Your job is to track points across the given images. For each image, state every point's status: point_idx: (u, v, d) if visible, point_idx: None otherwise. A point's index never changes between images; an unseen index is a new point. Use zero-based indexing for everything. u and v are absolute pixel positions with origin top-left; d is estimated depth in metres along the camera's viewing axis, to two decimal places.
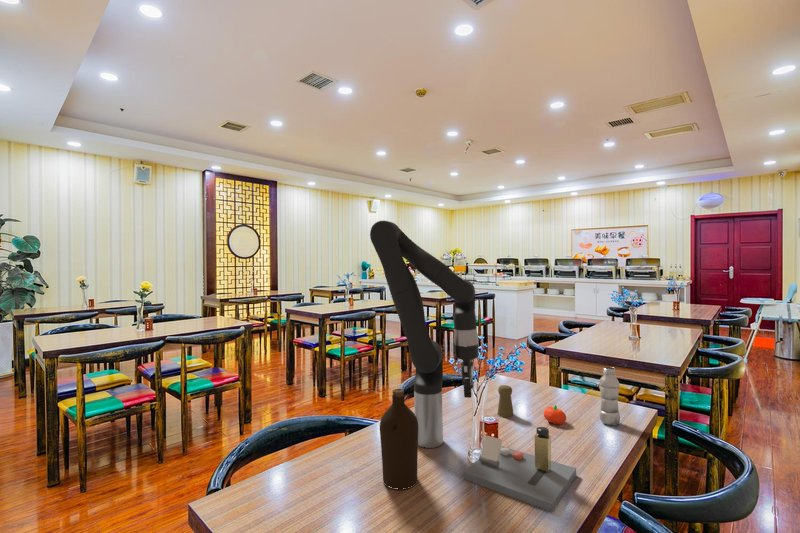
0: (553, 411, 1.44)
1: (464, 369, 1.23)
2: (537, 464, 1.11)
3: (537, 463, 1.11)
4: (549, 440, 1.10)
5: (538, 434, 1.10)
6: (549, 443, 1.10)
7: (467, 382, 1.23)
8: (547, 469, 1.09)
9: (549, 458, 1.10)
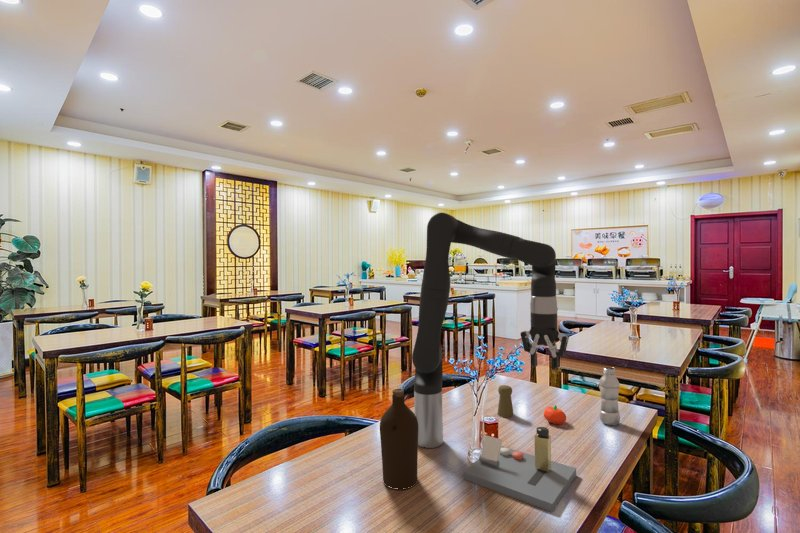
0: (553, 411, 1.44)
1: (566, 340, 1.15)
2: (537, 464, 1.11)
3: (537, 463, 1.11)
4: (549, 440, 1.10)
5: (538, 434, 1.10)
6: (549, 443, 1.10)
7: (563, 352, 1.17)
8: (547, 469, 1.09)
9: (549, 458, 1.10)
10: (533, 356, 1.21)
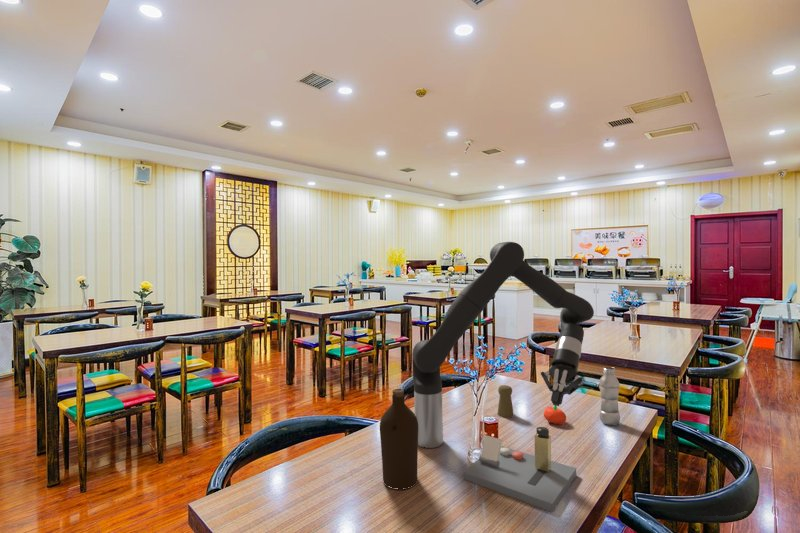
0: (553, 411, 1.44)
1: (581, 382, 1.19)
2: (537, 464, 1.11)
3: (537, 463, 1.11)
4: (549, 440, 1.10)
5: (538, 434, 1.10)
6: (549, 443, 1.10)
7: (570, 391, 1.20)
8: (547, 469, 1.09)
9: (549, 458, 1.10)
10: (555, 392, 1.20)
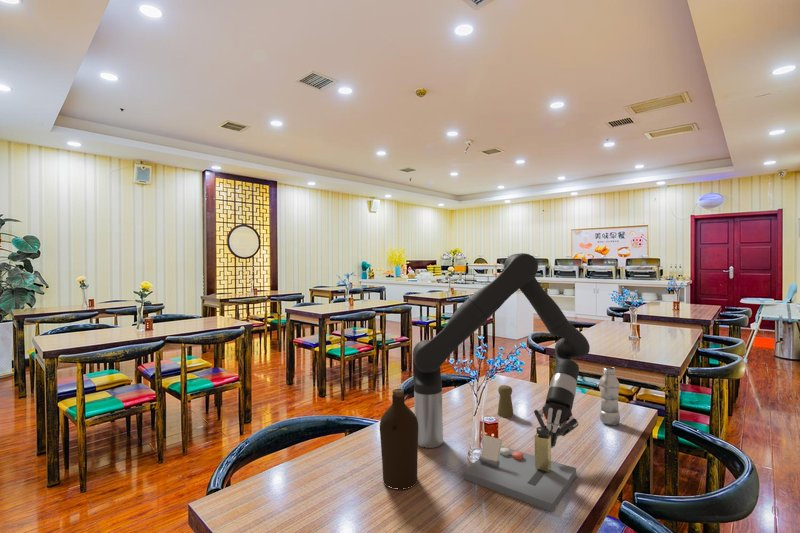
0: None
1: (575, 424, 1.15)
2: (537, 464, 1.11)
3: (537, 463, 1.11)
4: (549, 440, 1.10)
5: (538, 434, 1.10)
6: (549, 443, 1.10)
7: (564, 432, 1.16)
8: (547, 469, 1.09)
9: (549, 458, 1.10)
10: (549, 433, 1.16)
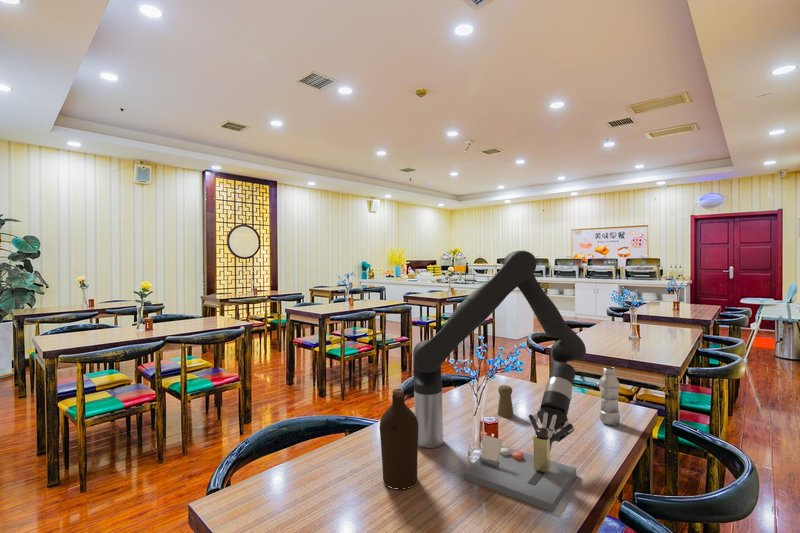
0: None
1: (570, 429, 1.12)
2: (536, 466, 1.10)
3: (536, 464, 1.10)
4: (548, 441, 1.09)
5: (537, 435, 1.09)
6: (548, 444, 1.09)
7: (559, 438, 1.13)
8: (546, 470, 1.08)
9: (548, 459, 1.09)
10: None
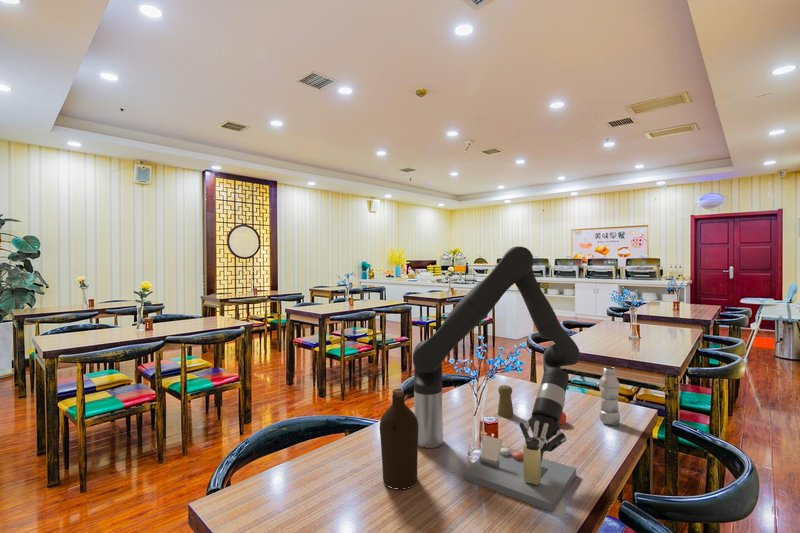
0: None
1: (563, 439, 1.06)
2: (526, 477, 1.04)
3: (526, 476, 1.04)
4: (539, 452, 1.03)
5: (527, 445, 1.04)
6: (539, 455, 1.03)
7: (551, 448, 1.07)
8: (536, 482, 1.03)
9: (539, 471, 1.03)
10: None
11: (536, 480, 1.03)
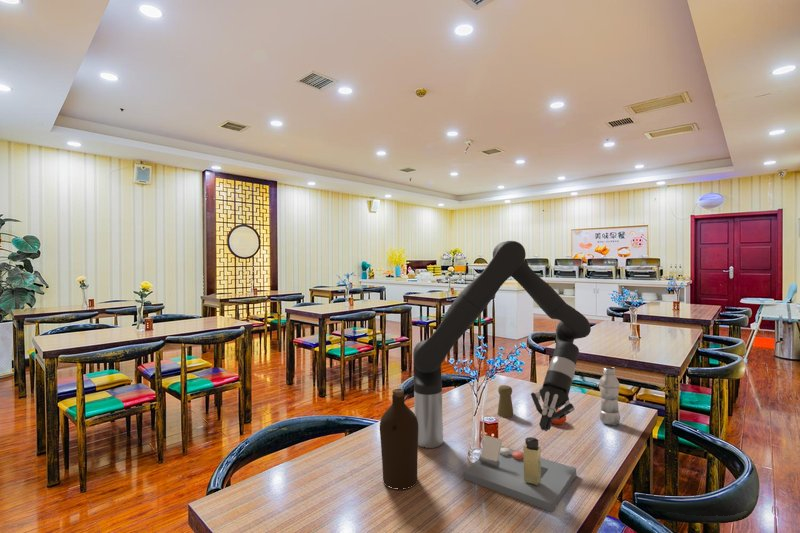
0: None
1: (571, 409, 1.16)
2: (526, 477, 1.04)
3: (526, 476, 1.04)
4: (539, 452, 1.03)
5: (527, 445, 1.04)
6: (539, 455, 1.03)
7: (559, 416, 1.17)
8: (536, 482, 1.03)
9: (539, 471, 1.03)
10: (544, 417, 1.17)
11: (536, 480, 1.03)
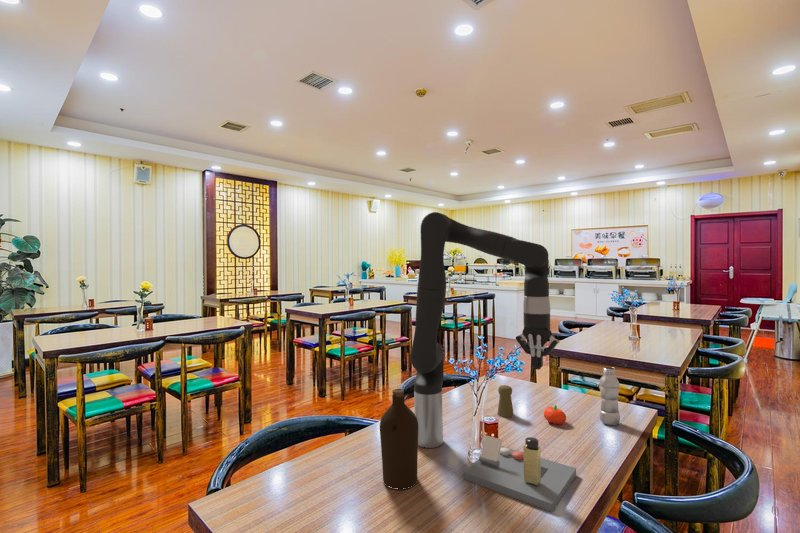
0: (553, 411, 1.44)
1: (556, 344, 1.16)
2: (526, 477, 1.04)
3: (526, 476, 1.04)
4: (539, 452, 1.03)
5: (527, 445, 1.04)
6: (539, 455, 1.03)
7: (548, 353, 1.19)
8: (536, 482, 1.03)
9: (539, 471, 1.03)
10: (534, 358, 1.20)
11: (536, 480, 1.03)
